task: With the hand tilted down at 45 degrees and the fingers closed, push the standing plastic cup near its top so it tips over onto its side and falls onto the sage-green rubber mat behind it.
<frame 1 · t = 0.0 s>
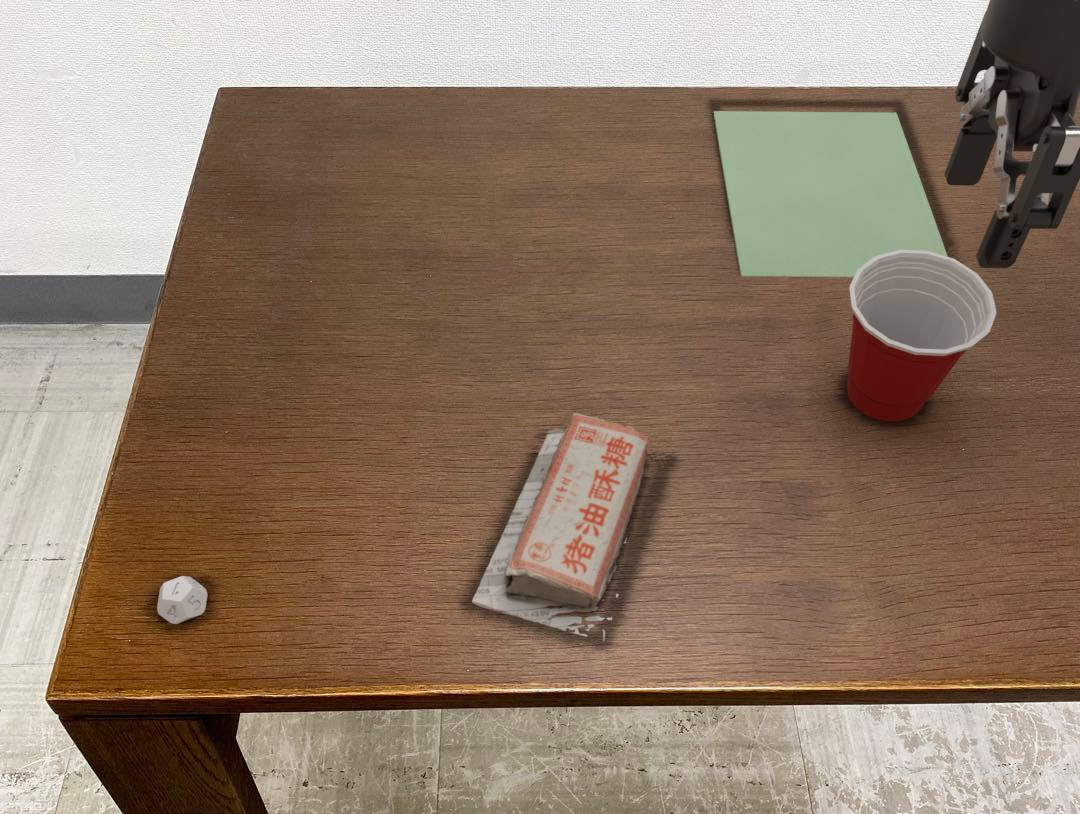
hand: (975, 221, 66), 22 cm above the table, tool pointing down, fingers open, 8 cm apart
plastic cup: (879, 408, 87), on the table
mat: (827, 204, 103), on the table
game die: (188, 613, 75), on the table
packaged product: (574, 539, 79), on the table
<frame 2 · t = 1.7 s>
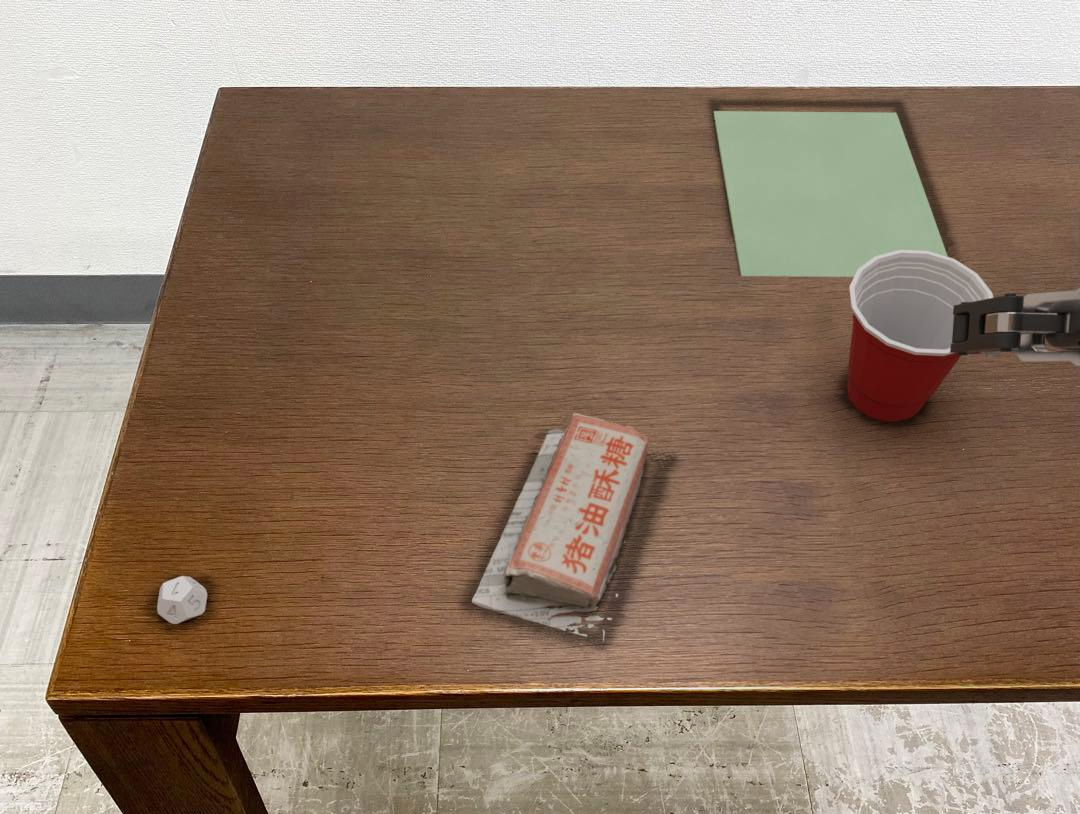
hand: (1040, 336, 59), 23 cm above the table, tool tilted 45°, fingers open, 8 cm apart
nothing on the table moved.
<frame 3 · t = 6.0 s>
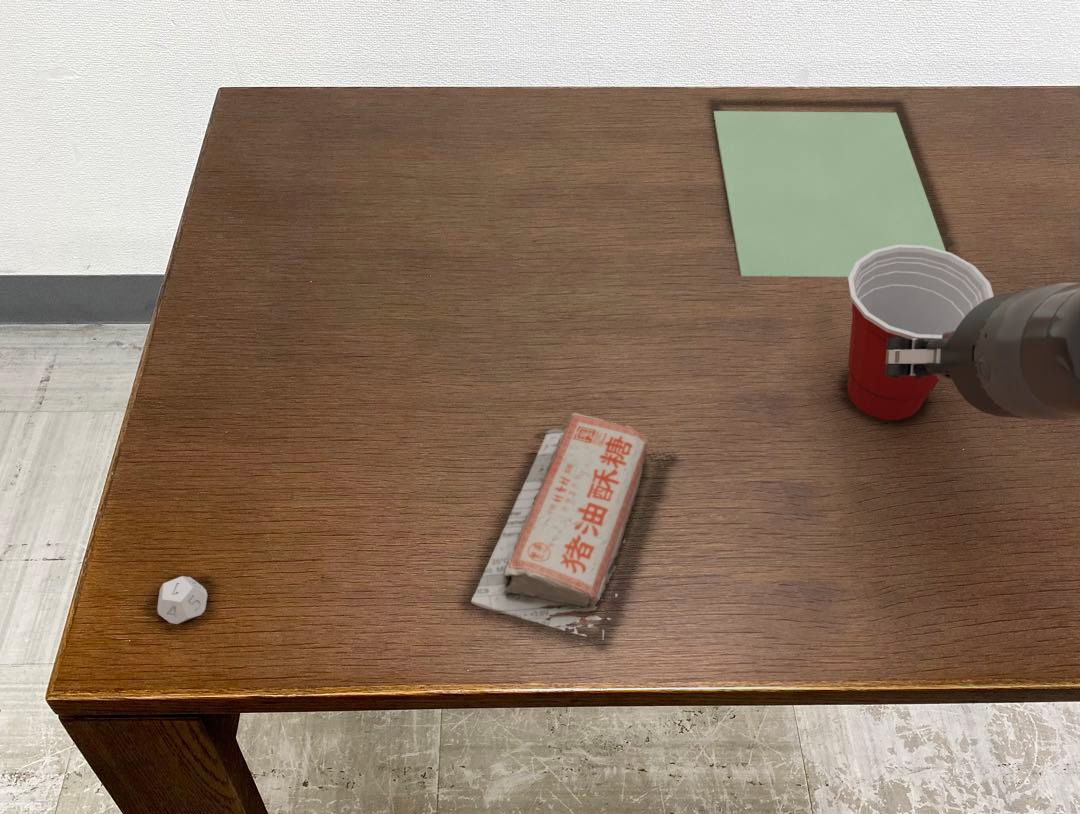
hand: (930, 360, 76), 10 cm above the table, tool tilted 45°, fingers closed
plastic cup: (880, 406, 87), on the table, touching gripper
everything else where it was.
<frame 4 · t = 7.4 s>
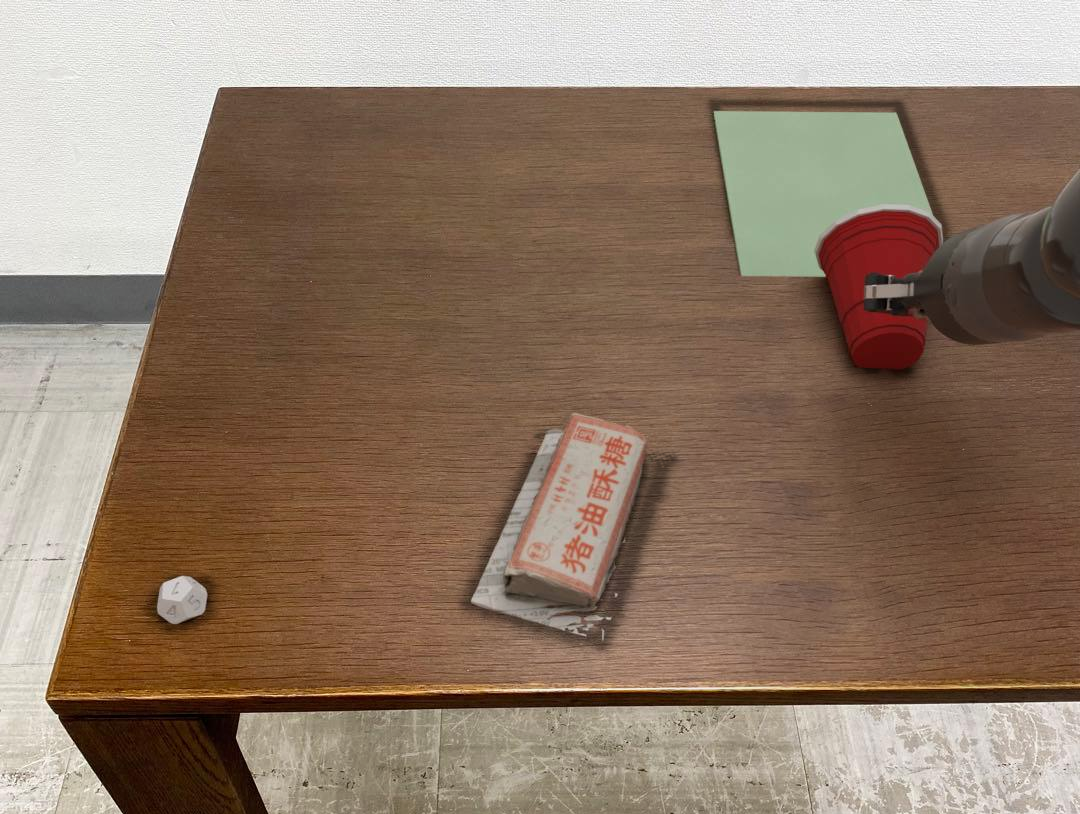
hand: (908, 302, 81), 9 cm above the table, tool tilted 45°, fingers closed
plastic cup: (888, 354, 86), point 4 cm above the table, touching mat
everything else where it was.
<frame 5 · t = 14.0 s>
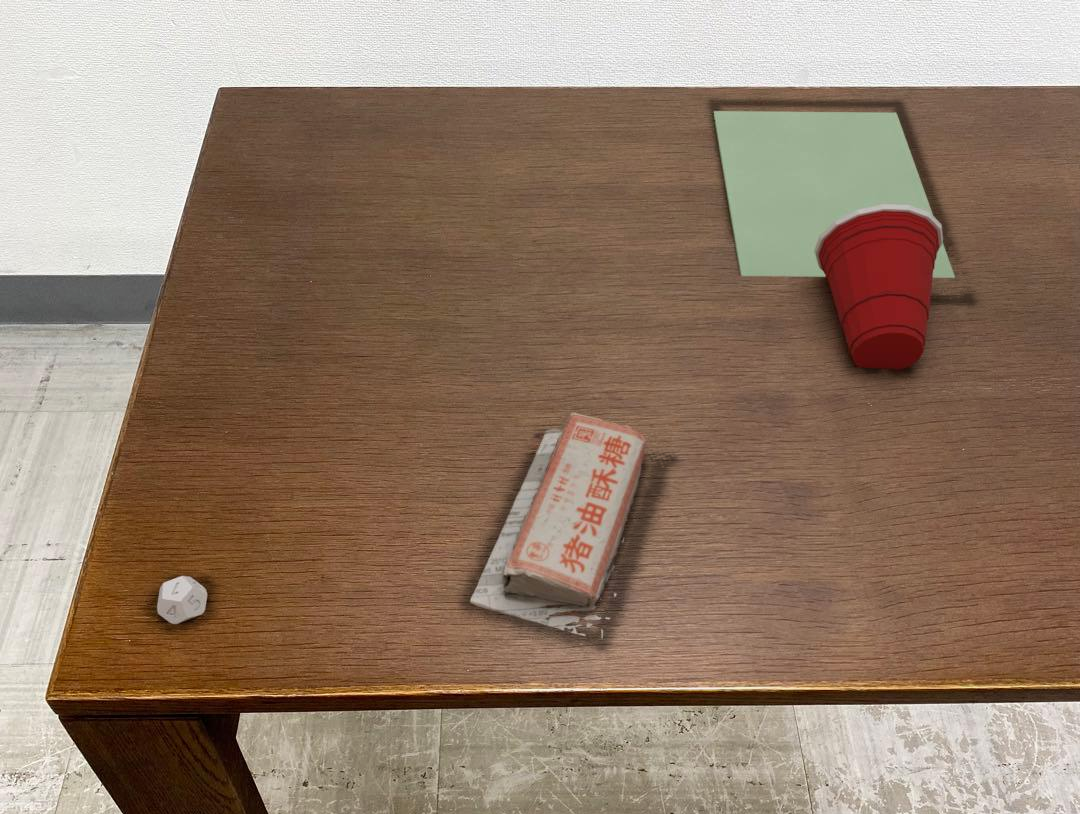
nothing on the table moved.
at the end: plastic cup tilted 80°; plastic cup touching mat, table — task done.
